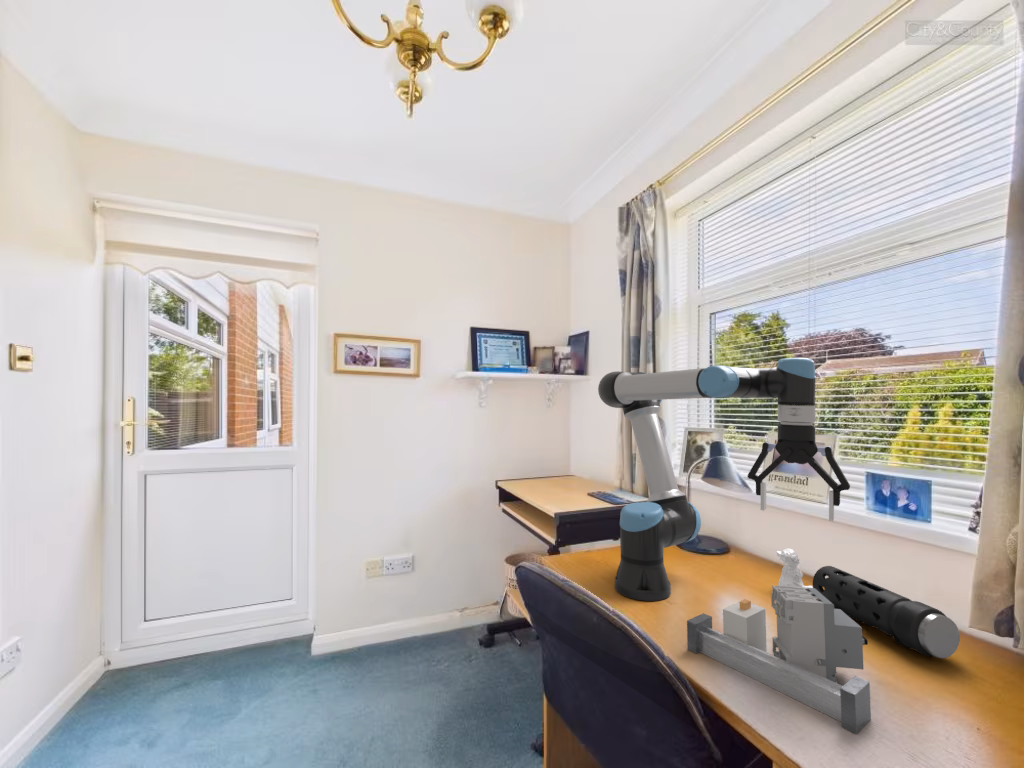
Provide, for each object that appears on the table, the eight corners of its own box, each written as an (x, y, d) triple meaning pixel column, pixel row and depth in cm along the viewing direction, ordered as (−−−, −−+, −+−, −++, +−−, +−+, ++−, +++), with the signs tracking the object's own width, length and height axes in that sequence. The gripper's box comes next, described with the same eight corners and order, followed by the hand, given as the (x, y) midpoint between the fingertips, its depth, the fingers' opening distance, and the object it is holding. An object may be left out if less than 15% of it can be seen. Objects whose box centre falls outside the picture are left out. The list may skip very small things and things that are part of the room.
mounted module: (723, 652, 94) (722, 602, 95) (743, 642, 99) (741, 593, 99) (747, 664, 90) (746, 610, 91) (766, 652, 95) (765, 601, 95)
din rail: (687, 649, 96) (686, 620, 96) (704, 641, 99) (703, 613, 99) (856, 734, 71) (855, 694, 71) (870, 719, 74) (869, 681, 75)
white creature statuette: (821, 596, 122) (819, 551, 123) (801, 602, 118) (800, 556, 119) (787, 584, 131) (785, 542, 131) (767, 589, 127) (766, 546, 128)
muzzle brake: (845, 604, 118) (843, 563, 118) (965, 664, 90) (962, 611, 91) (811, 606, 117) (810, 565, 117) (923, 668, 89) (920, 614, 89)
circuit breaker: (875, 692, 81) (871, 607, 82) (787, 682, 84) (785, 600, 85) (852, 668, 89) (849, 590, 89) (773, 660, 92) (770, 585, 92)
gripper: (734, 421, 111) (734, 508, 111) (862, 427, 96) (863, 528, 95) (741, 420, 117) (741, 502, 117) (863, 425, 101) (863, 520, 101)
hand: (796, 514), depth 106 cm, fingers open, 13 cm apart
